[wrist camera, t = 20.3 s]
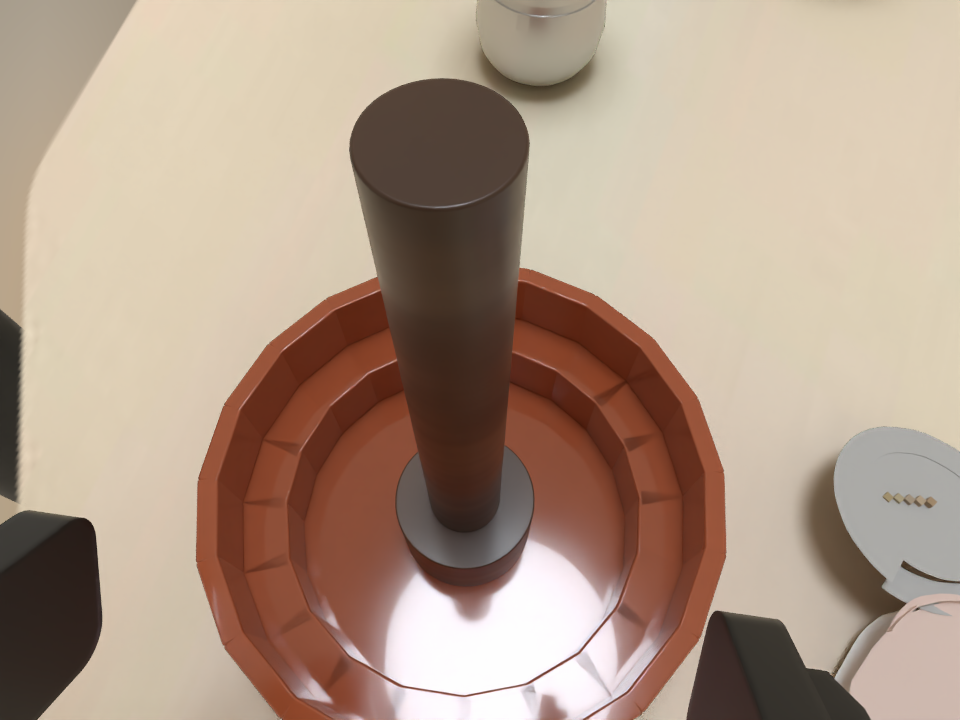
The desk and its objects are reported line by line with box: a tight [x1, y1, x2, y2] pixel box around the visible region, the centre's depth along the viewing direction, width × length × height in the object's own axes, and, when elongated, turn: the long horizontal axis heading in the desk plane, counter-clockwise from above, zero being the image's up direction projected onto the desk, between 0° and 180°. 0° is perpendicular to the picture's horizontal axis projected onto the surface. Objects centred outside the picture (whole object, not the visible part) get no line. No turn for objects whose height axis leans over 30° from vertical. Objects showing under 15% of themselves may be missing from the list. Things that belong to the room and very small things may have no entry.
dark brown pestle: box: [349, 78, 535, 586], centre depth 16 cm, size 4×4×18 cm
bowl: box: [196, 268, 726, 720], centre depth 22 cm, size 15×15×6 cm
